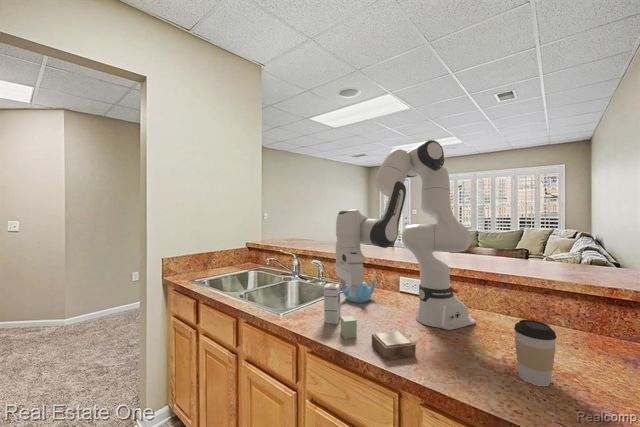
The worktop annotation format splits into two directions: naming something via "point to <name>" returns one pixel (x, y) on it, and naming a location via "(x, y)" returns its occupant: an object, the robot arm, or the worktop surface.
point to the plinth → (393, 345)
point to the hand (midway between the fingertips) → (347, 293)
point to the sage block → (348, 327)
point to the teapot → (360, 292)
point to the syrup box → (332, 303)
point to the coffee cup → (535, 351)
